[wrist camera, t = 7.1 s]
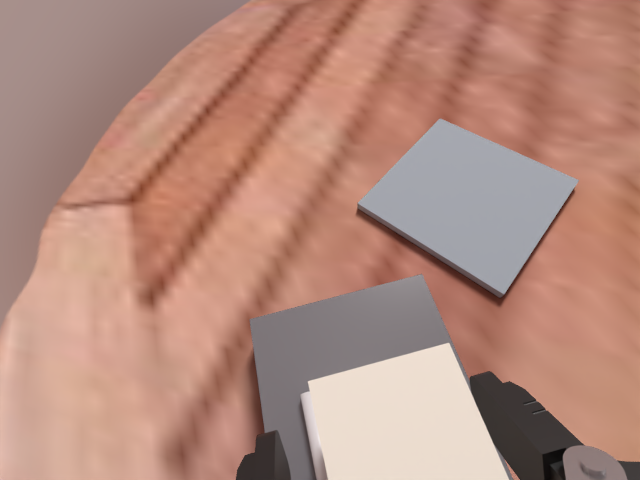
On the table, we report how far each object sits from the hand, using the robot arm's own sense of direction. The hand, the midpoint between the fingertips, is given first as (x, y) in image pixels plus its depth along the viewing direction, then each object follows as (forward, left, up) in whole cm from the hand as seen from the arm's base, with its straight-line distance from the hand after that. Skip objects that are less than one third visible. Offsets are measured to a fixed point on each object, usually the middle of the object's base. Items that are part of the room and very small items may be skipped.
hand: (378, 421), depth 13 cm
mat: (+4, -16, -6) cm, 18 cm away
